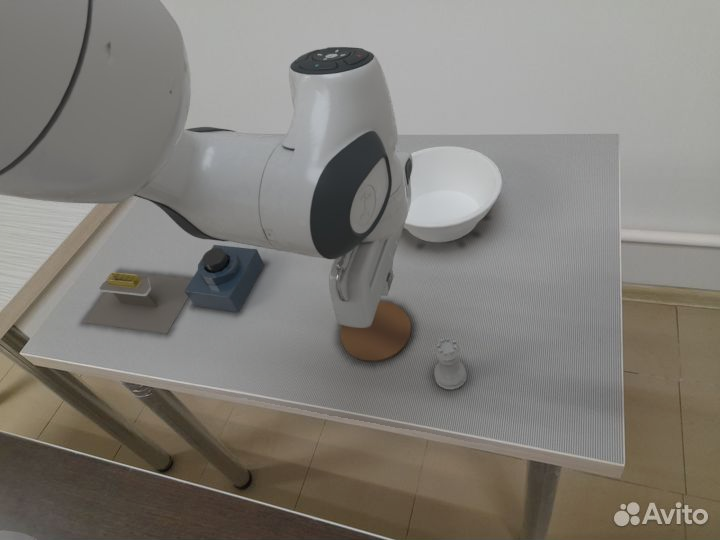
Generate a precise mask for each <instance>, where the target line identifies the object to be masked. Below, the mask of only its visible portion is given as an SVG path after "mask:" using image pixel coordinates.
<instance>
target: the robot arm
mask: <svg viewBox="0 0 720 540" xmlns="http://www.w3.org/2000/svg"><path fill="white" fill-rule="evenodd" d="M190 69H191V68H190V63H189V58H188V52H187V48H186V44H185V42H184V38H183V35H182V32H181V29H180V27H179V25H178V23H177V21H176V20H175V18H174V16H172V14H171V13H170V11H169V10H168V9H167V7H166V6H165V5H164V4H163V2H162V1H161V0H0V196H6V197H12V198H17V199H25V200H34V201H40V202H41V201H42V202H54V203H67V204H90V205H92V204H93V205H94V204H95V205H96V204H97V205H99V204H100V205H103V204H104V205H109V204H110V205H111V204H112V205H113V204H118V203H122V202H124V201H125V200H128V199H129V198H131V197H133V196H134V197H137V198H139V199H143V200H146V201H149V202H151V203H153V204H154V205H155V206H157V207H158V208H160V209H161V210H162V211H163V212H164V213H165V214H166V215H167V216H168V217H169V218H170V219H171V220H172V221H173V222H174V223H175V224H176V225H177V226H179V228H180V229H181V230H183V232H185V233H187V234H188V235H191V236H192V237H195V238H198V239H200V240H201V239H202V240H208V241H209V240H210V241H219V242H231V243H235V244H242V245H246V246H254V247H258V248H262V249H263V248H264V249H268V250H274V251H279V252H285V253H290V254H296V255H301V256H307V257H311V258H318V259H327V260H333V262H332V264H331V267H330V270H329V275H328V289H329V295H330V300H331V304H332V305H331V306H332V309H333V313H334V316H335V319H336V321H337V323H338V324H339V325H341V326H342V325H344V326H348V327H355V328H366V327H370V326H371V324H372V322H373V319H374V316H375V313H376V310H377V307H378V304H379V301H380V300H381V297H387V296H388V295H389V293H390V290H391V286H392V284H393V283H392V282H393V280H394V278H395V276H394V271H393V268H394V267H393V266H394V257H395V255H396V251H397V248H398V245H399V242H400V239H401V237H402V234H403V230H404V228H403V227H404V224H405V221H406V218H407V216H408V212H409V209H410V205H411V179H410V176H411V172H412V167H413V161H412V155H411V153H412V152H408V151H401V150H400V151H399V150H397V147H398V140H399V133H398V127H397V120H396V115H395V111H394V106H393V105H394V104H393V102H392V97H391V93H390V89H389V86H388V82H387V79H386V76H385V73H384V70H383V68H382V65H381V63H380V61H379V59H378V57H377V56H376V55H375V54H374V53H373V52H371V51H369V50H366V49H364V48H361V47H352V46H351V47H349V46H331V47H330V46H328V47H325V48H321V49H319V48H318V49H314V50H311V51H309V52H306V53H304V54H302V55H300V56H299V57H297V58H296V59H294V61H292V62H291V63H290V65H289V67H288V81H289V89H290V94H291V95H290V96H291V101H292V102H291V103H292V106H293V115H292V118H291V122H290V124H289V128H288V131H287V132H286V134H285V135H284V136H283V135H274V134H263V133H253V132H241V131H236V130H231V129H228V128H227V129H226V128H220V127H211V126H198V127H190V128H185V127H186V124H187V121H188V115H189V110H190V106H191V97H192V96H191V95H192V86H191V85H192V81H191V70H190ZM0 540H38V538H36V537H34V536H32V535H31V534H28V533H25V532H20V531H15V530H9V529H8V530H7V529H0Z"/></svg>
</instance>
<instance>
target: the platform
mask: <svg viewBox="0 0 720 540" xmlns="http://www.w3.org/2000/svg"><path fill="white" fill-rule="evenodd" d="M191 280H192V278H184V277H183V278H182V277H174V276H173V277H171V276H162V275H151V274H141V273H140V274H139V273H130V272H113V271H112V272H110V273H109V274H108V276H107V277H106V278H105V281H104V282H102V284H101V285H100V287H99V290H100V292H103V294H102V295H101V297H100V298H99V299H98V301H97V303H96V304H95V306H94V307H93V308H92V310H91V311H90V313H89V314H88V316H87V317H86V318H85V320H84V321H83V323H85V324H91V325H100V326H106V327H107V326H109V327H116V328H123V329H130V330H137V331H143V332H151V333H152V332H153V333H160V334H168V333H169V331H170V329H171V327H172V326H173V324H174V322H175V321H176V319H177V317H178V315H179V314H180V312H181V311H182V309H183V307H184V306H185V304H186V302H187V300H188V299H189V297H188V296H187V294H186V293H185V289H186V288H187V286H188V284H189V283H190V281H191Z"/></svg>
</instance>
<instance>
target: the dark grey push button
mask: <svg viewBox="0 0 720 540" xmlns="http://www.w3.org/2000/svg"><path fill="white" fill-rule="evenodd" d="M201 259H202V262H203V263H204V265H205V267H206V268H207V270H208V271H209V272H211V273H216V272H220V271H222V270H223V269H225V268H226V267H227V266H228V264H229V258H228V257H227V255H226V253H225V251H224V250H223V249H221V248H213V249H212V248H210V249H209V250H208V251H207V250H206V252H204V254H203V256H202V257H201Z"/></svg>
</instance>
